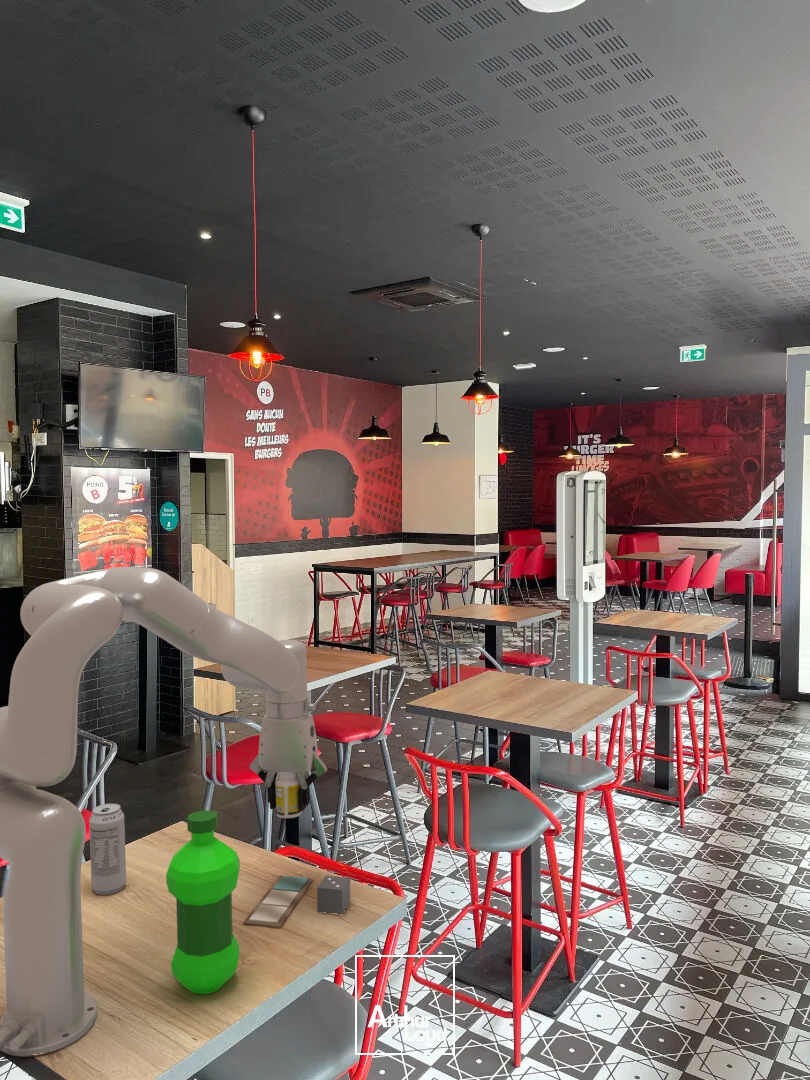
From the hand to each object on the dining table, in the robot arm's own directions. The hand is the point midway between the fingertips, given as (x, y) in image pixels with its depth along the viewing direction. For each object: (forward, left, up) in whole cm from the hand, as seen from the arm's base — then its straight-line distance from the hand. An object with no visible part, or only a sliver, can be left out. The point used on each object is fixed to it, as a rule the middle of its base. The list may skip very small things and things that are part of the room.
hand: (288, 806), depth 146 cm
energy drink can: (-6, +33, -15) cm, 37 cm away
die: (-6, -10, -15) cm, 19 cm away
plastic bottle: (-30, +2, -15) cm, 34 cm away
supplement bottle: (0, 0, -2) cm, 2 cm away
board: (-5, 0, -15) cm, 16 cm away
